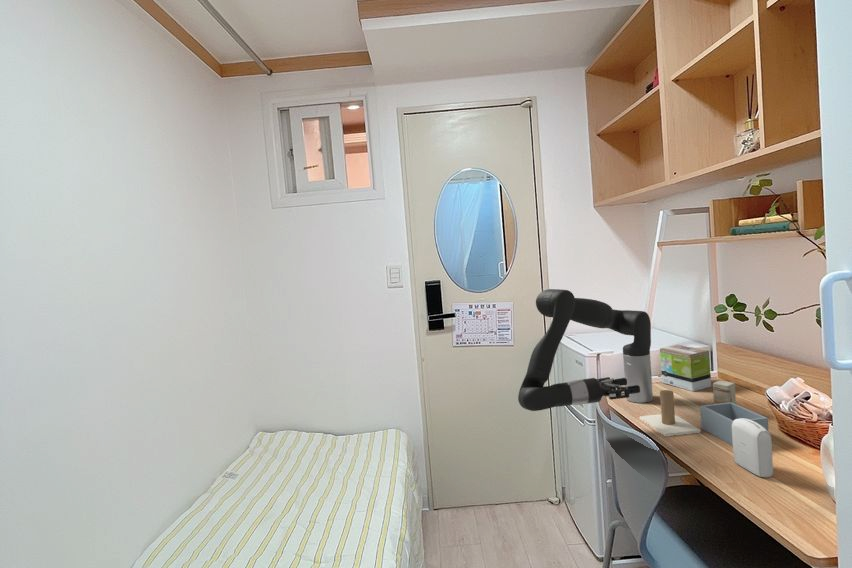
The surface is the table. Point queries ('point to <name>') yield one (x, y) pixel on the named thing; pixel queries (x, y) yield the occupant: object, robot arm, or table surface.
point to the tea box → (685, 367)
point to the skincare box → (724, 392)
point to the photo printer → (752, 447)
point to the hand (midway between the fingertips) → (632, 384)
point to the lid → (669, 418)
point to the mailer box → (726, 419)
